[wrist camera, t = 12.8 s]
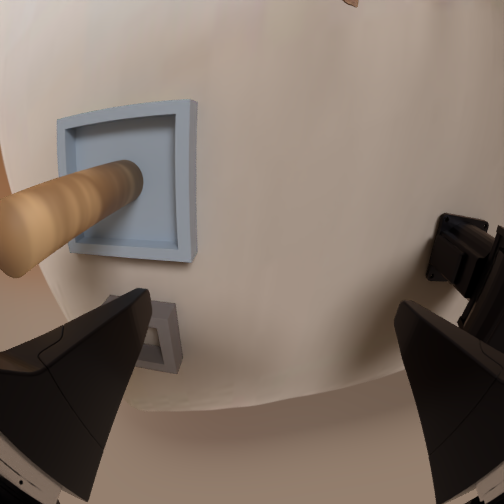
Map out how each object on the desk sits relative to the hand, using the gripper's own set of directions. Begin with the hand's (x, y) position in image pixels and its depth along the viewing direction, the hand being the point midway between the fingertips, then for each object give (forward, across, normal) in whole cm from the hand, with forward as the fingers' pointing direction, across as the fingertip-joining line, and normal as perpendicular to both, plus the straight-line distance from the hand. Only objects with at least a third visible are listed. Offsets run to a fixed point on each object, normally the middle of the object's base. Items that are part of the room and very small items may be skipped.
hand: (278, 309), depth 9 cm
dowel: (+13, +12, -2) cm, 17 cm away
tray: (+13, +12, -2) cm, 18 cm away
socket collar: (+13, +12, +13) cm, 22 cm away
